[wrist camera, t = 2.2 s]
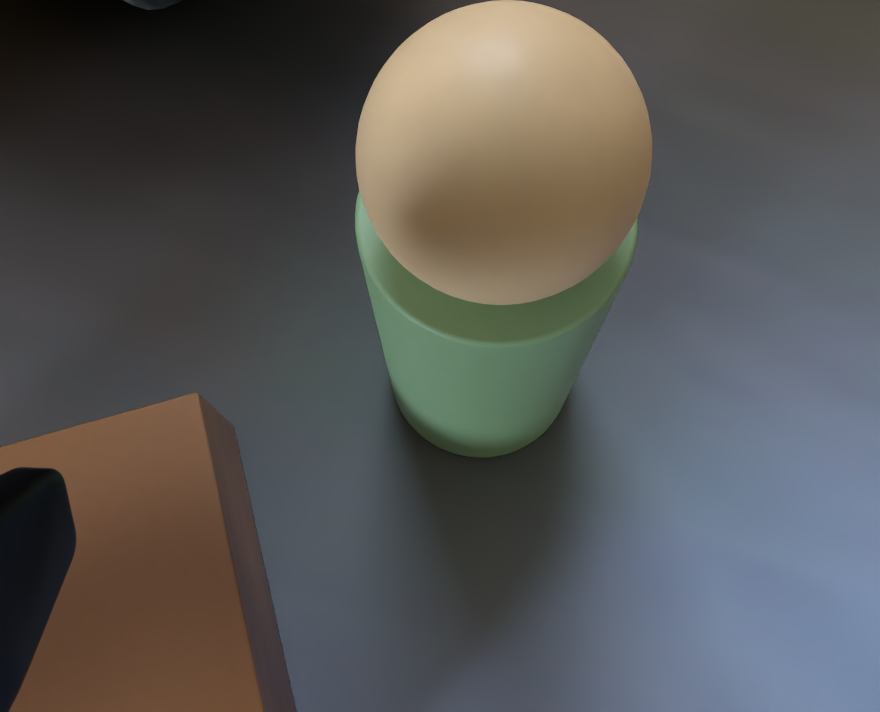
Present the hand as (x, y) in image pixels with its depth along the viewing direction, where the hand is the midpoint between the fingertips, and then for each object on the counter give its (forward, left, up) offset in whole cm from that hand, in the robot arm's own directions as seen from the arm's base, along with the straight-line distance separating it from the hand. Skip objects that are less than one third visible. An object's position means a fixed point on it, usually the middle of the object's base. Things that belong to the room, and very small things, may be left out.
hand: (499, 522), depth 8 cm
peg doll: (+5, -2, -11) cm, 12 cm away
